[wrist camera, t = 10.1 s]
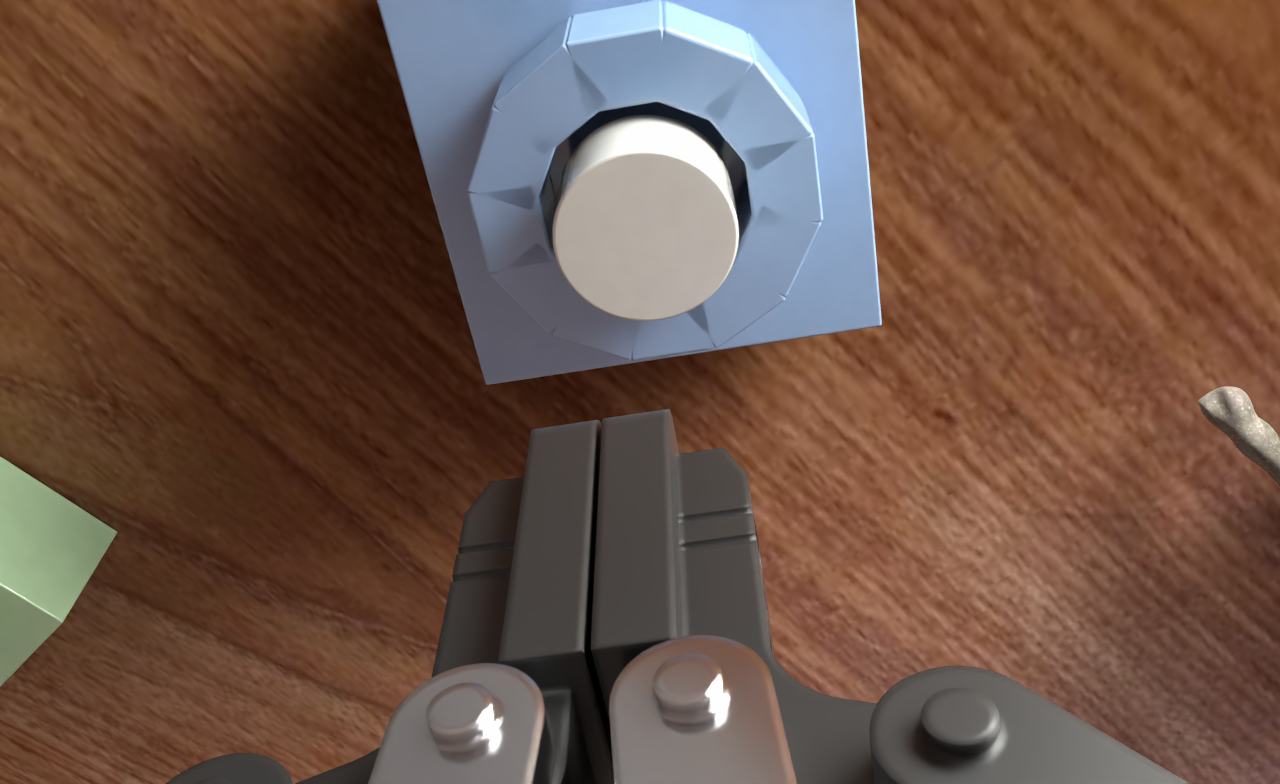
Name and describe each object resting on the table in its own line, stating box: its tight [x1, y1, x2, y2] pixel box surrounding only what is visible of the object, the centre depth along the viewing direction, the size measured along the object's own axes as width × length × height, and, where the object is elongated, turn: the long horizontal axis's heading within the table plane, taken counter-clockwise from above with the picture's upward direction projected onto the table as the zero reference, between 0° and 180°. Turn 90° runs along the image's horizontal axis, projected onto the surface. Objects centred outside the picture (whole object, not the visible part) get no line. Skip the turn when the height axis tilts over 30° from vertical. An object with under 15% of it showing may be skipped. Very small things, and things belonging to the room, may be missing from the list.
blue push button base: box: [377, 0, 882, 385], centre depth 23 cm, size 8×8×6 cm
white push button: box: [552, 115, 739, 321], centre depth 20 cm, size 3×3×2 cm
